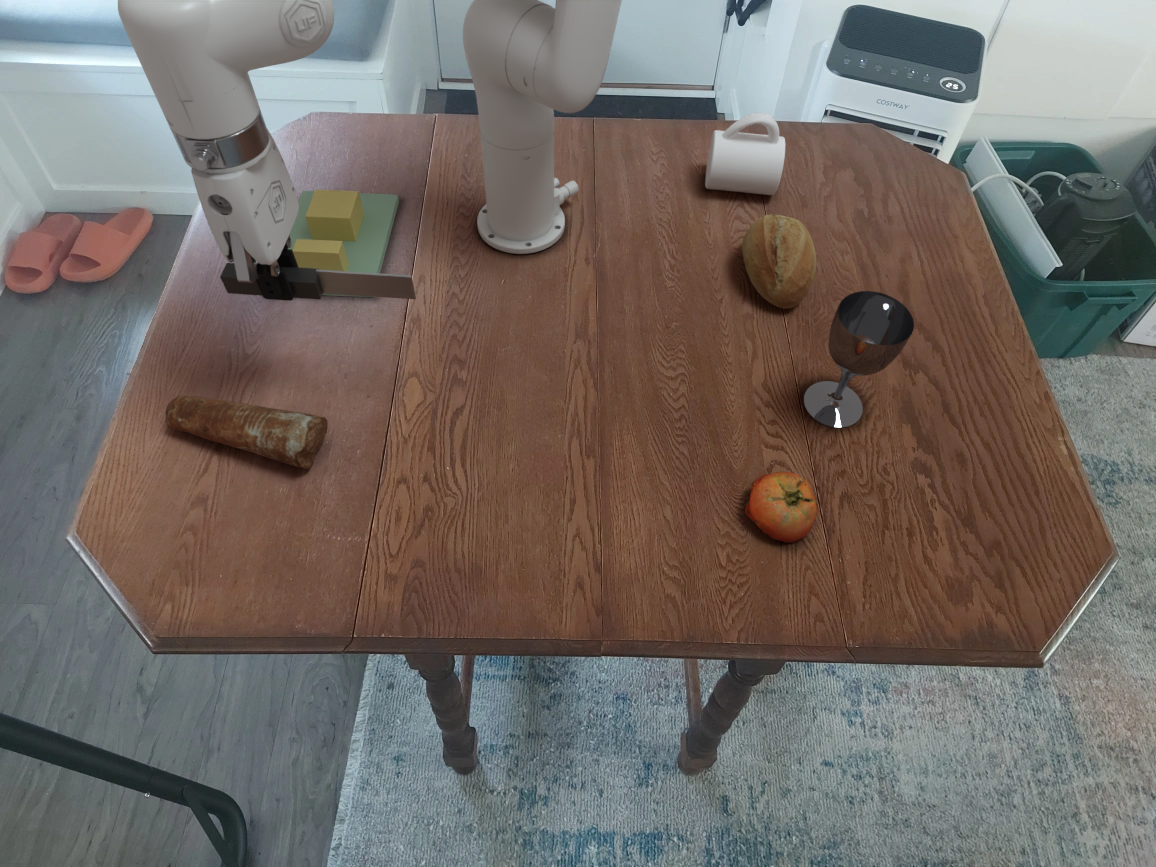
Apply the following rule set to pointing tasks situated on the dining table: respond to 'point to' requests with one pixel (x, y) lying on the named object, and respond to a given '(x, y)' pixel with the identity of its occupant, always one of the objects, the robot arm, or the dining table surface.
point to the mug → (746, 157)
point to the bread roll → (780, 259)
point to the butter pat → (320, 254)
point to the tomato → (782, 506)
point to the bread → (250, 427)
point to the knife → (328, 283)
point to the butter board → (367, 236)
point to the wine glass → (858, 353)
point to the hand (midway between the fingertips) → (282, 287)
